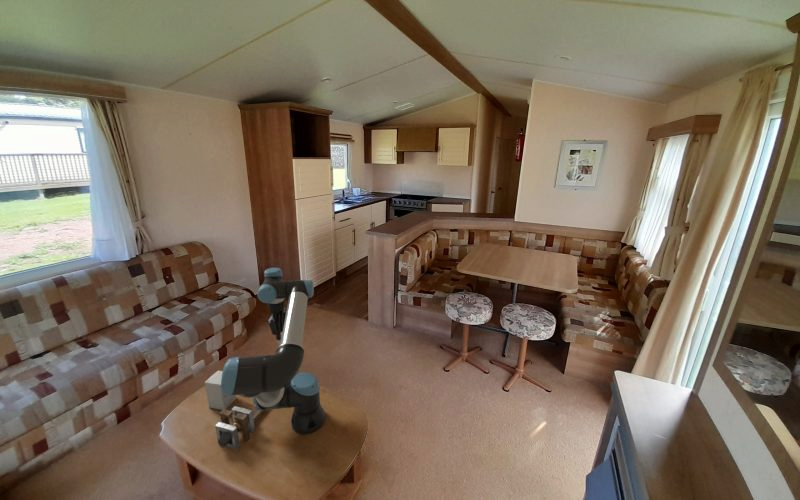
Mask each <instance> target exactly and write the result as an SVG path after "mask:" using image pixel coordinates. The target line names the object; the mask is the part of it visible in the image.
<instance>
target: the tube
mask: <svg viewBox="0 0 800 500" xmlns="http://www.w3.org/2000/svg"><path fill="white" fill-rule="evenodd" d="M252 414H253V413H252ZM231 425H232V426H235V427H237V431H238V433H239V432H240V431H242V430H241V424H240V421H236V422H235V423H234V422H233V423H232V424H231ZM231 440H232V438H231V433H228V432H225V433H224V434H223V435H222V436H221V437H220V438H219V439H218V438H217V443H218V445H219V446H220V447H223V448H226V447H225V446H226V445H227V444H228V443H229V442H230V441H231Z"/></svg>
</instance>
